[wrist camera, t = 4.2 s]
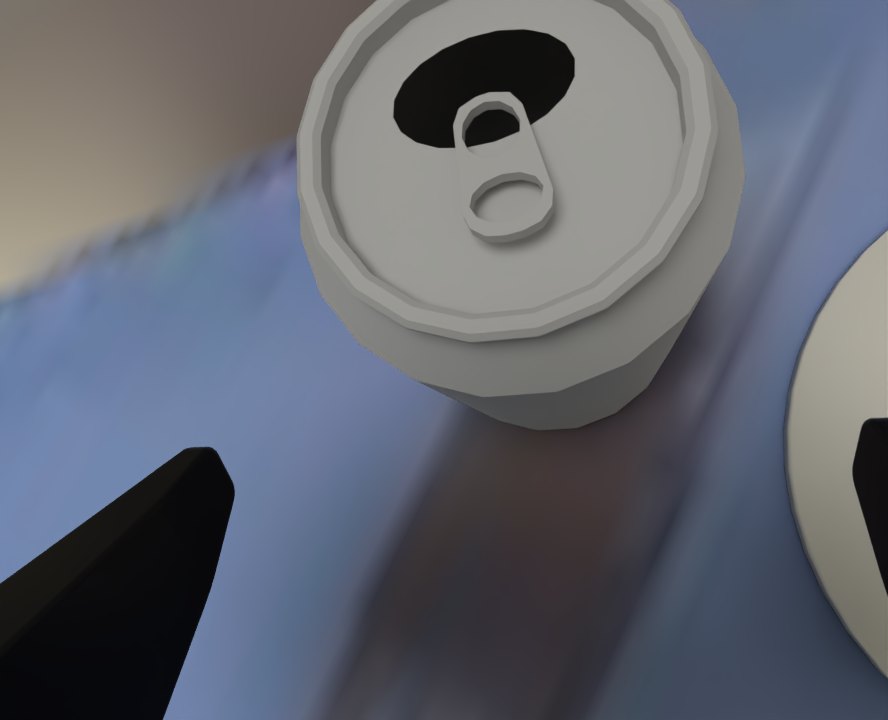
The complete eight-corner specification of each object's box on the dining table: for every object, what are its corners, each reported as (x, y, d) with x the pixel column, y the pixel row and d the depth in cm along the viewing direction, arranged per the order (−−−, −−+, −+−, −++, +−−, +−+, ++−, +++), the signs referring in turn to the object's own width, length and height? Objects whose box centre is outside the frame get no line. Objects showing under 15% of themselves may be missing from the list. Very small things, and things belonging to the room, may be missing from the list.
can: (639, 172, 21) (684, -185, 10) (704, 402, 20) (853, 304, 8) (415, 236, 23) (220, -9, 11) (460, 456, 21) (288, 438, 9)
